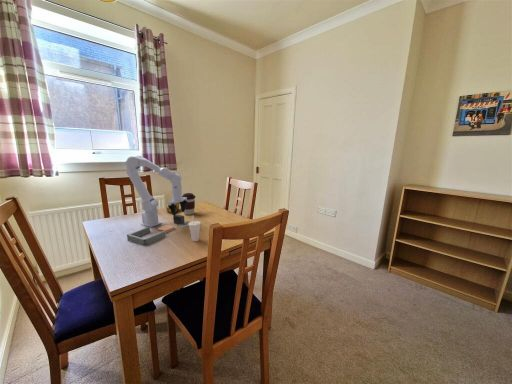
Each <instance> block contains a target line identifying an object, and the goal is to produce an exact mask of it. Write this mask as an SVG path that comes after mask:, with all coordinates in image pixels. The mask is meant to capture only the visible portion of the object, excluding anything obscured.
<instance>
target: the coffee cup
mask: <svg viewBox="0 0 512 384" xmlns="http://www.w3.org/2000/svg"><path fill="white" fill-rule="evenodd" d="M183 197H187V200H186V201H187V204H186V207H185V211H184V212H183V213H184V215H186V216H188V215H189V216H190V215H194V214H195V207H196V205H195V204H196V199H195V198H196V195H195V194H193V192H192V193H191V192H187V193H182V198H183Z"/></svg>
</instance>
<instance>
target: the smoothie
mask: <svg viewBox="0 0 512 384" xmlns="http://www.w3.org/2000/svg"><path fill="white" fill-rule="evenodd" d="M189 222H190V223H189V225H188V226H187V227H189V233H190V236H191V241H192V242H198V241H200V231H201V221H198V220H195V216H194V214H192V221H189Z"/></svg>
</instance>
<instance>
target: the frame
mask: <svg viewBox="0 0 512 384" xmlns="http://www.w3.org/2000/svg"><path fill="white" fill-rule="evenodd" d="M150 228H151V227H149V226H146V227H143V228H141V229H138V230H136V231H133V232H131V233H128V234H126V237H127V238H126V239H127V241H130V242H133V243H135V244H136V243H137V244H139V245H142V246H148V245H149V244H152V243H153V242H156V241H158V240H161V239H163V238H165V237H166V236H167V235H166V234H167V233H165V231H162V232H158V233H155V234H153V235H150V236H149V237H146V238H144V237H140V236H143V235H146V234H147V233H150V232H151V231H150Z"/></svg>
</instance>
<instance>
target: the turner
mask: <svg viewBox="0 0 512 384" xmlns="http://www.w3.org/2000/svg"><path fill="white" fill-rule="evenodd" d="M172 217H173V218H172V220H173V224H176V225H178V227H179V228H182V229H183V228H186V227H189V226H188V225H189V223H190V222H191V221H189V220H187V221H185V215H183V214H178V213H176V215H172Z"/></svg>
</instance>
